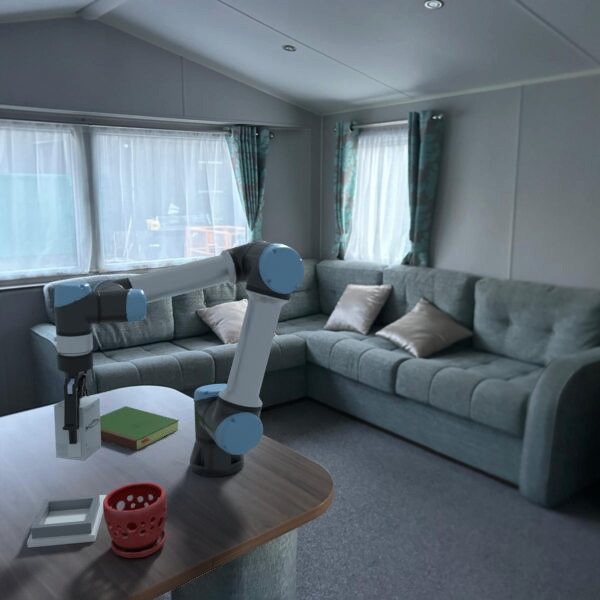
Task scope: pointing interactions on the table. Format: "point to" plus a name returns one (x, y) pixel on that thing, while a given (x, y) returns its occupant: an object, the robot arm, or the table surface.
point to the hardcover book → (135, 427)
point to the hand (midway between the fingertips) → (78, 447)
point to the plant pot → (136, 519)
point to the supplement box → (88, 428)
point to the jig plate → (67, 521)
